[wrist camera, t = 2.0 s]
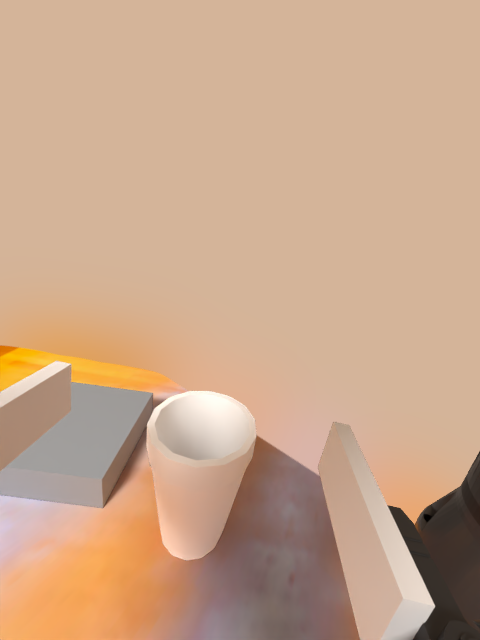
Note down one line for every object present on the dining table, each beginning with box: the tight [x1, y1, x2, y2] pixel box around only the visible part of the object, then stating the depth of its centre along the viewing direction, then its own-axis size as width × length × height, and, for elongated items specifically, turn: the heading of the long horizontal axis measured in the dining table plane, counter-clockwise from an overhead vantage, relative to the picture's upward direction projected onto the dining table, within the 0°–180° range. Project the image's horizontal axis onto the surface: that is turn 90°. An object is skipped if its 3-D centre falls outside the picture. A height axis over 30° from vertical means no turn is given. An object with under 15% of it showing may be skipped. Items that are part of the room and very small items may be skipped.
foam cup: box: [146, 391, 257, 561], centre depth 25 cm, size 10×9×13 cm
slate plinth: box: [0, 382, 153, 508], centre depth 34 cm, size 15×15×4 cm
